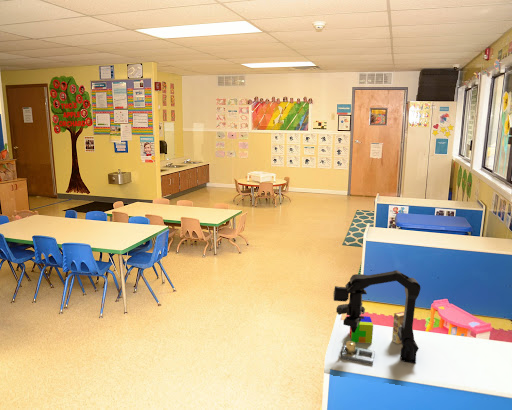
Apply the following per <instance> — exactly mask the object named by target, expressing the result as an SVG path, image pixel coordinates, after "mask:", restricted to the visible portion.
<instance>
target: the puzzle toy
mask: <svg viewBox="0 0 512 410" xmlns="http://www.w3.org/2000/svg"><path fill="white" fill-rule="evenodd" d="M360 317H362V319H361V321H360V323H359V325H358V327H357V329H356V331H355V333H353V332H352V329H351V326H349V336H350V339H351V340H350V341H353V342H355V343H357V342H358V343H360V344H361V343H362V344H373V334H374V333H373V331H374V324H373V321H372V319H371V316H365V315H360Z"/></svg>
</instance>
